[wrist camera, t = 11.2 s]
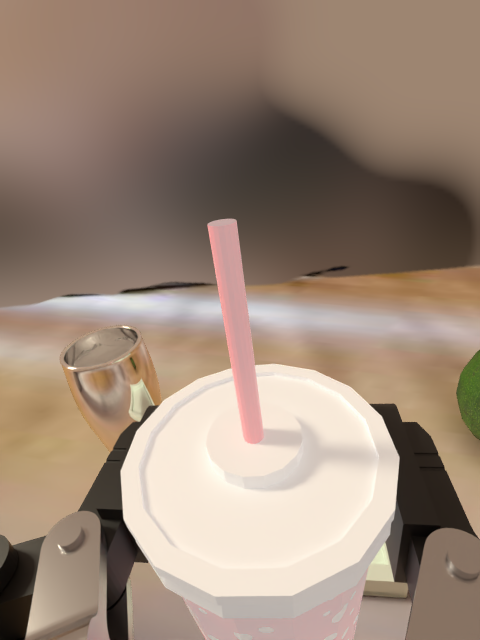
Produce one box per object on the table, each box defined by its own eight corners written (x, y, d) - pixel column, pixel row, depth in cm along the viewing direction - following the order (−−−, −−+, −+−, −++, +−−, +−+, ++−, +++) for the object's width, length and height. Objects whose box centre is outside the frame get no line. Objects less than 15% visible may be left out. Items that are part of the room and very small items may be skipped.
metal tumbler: (194, 468, 35) (157, 342, 28) (129, 514, 31) (68, 383, 24) (163, 430, 40) (125, 316, 33) (104, 466, 37) (48, 347, 30)
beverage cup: (385, 800, 9) (538, 309, 2) (166, 724, 10) (-116, 310, 4) (368, 549, 14) (399, 176, 7) (223, 524, 16) (142, 200, 9)
